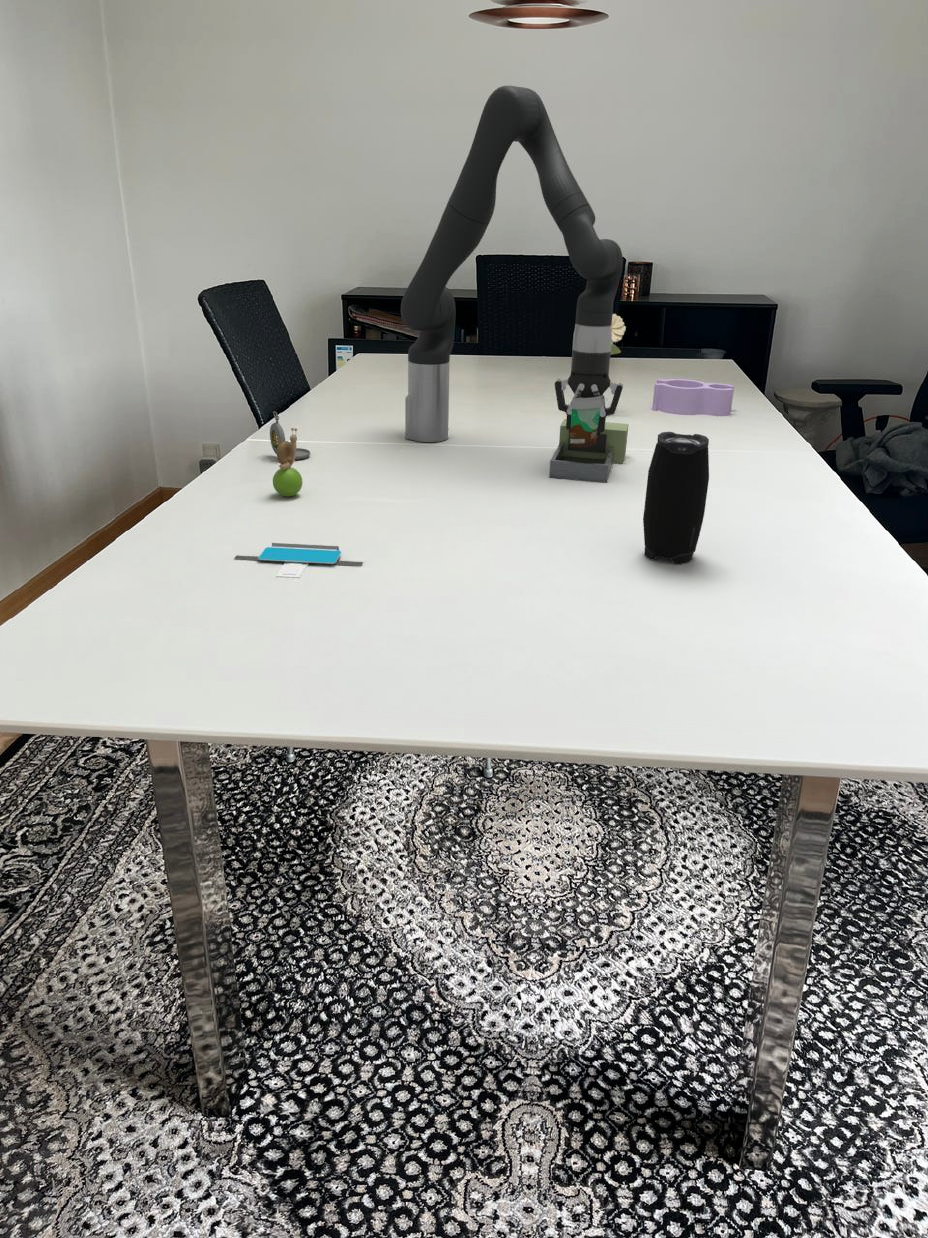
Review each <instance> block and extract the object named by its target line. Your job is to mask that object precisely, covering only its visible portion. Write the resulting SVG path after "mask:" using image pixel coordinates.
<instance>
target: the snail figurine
mask: <svg viewBox="0 0 928 1238" xmlns="http://www.w3.org/2000/svg"><path fill="white" fill-rule="evenodd" d="M290 430H291V431H292V434H291V435H290V436H289V440H290V441H288V440H285V441H283V442H281V443H280V445H279V447H278V450H277V454H276V458H277V461H278V463H279V466H278V467H279V469H277V470H276V471H275V473H274V475H273V477H272V486H273V488H274V490H275V491H276V493H277V494H279V495H280V496H283V497H287V498H288V497H293V496H295V495H297V494H298V493H299V492H300V491H301V489H302V488H303V478H302V475H301V473H300V472H299V471H298V470H297V469H295V468H294V467H292V465H293V463H295V460H296V459H295V456H296V448H297V440H298V438H297V434H295V433H294V431H295V432H297V431H298V428H297V427H295V428H294V427H291V428H290Z"/></svg>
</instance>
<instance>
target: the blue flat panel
mask: <svg viewBox="0 0 928 1238" xmlns="http://www.w3.org/2000/svg"><path fill="white" fill-rule="evenodd" d="M341 554H342V551H341V550H340V546H338V545H322V544H319V545H317V544H305V543H304V544H301V543H300V544H299V543H284V542H283V543H281V542H280V543H279V542H271V547H270V546H268V547H265V548H264V549H263V551H262V552H261V554H260V555H258V556H257V555H238V554H237V555H236V556H235V557H234V560H242V561H243V560H244V561H245V560H246V561H248V562H249V561H251V562H253V561H254V562H267V563H268V562H270V563H271V562H272V563H283V565H282V566H281V568H280V570H279V571H278V573H277V574H276V576H275V577H276V578H286V579H288V578H290V579H301V577H302V576H303V573H305V570H306V569H307V567H308V565H330V566H331V565H332V566H346V567H347V566H360V567H361V566H362V564H363V561H351V560H341V557H340V556H341Z"/></svg>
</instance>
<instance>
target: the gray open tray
mask: <svg viewBox="0 0 928 1238" xmlns="http://www.w3.org/2000/svg"><path fill="white" fill-rule="evenodd" d="M563 447H564V442H560V443H559V442H558V445H557V448H555V451H554V453H553V455H552V456H551V459H550V460H549V461H550V462H549V479H550V478H551V479H561V480H573V481H585V482H594V483H595V482H596V483H606V484H607V483H608V480H609V477H610V474H611V470H612V468H613V464H614V463H613V457H614V447H615V446H611V447H610V450H609V453H608V456H607V459H606V460H604V459H592V458H580V457H568V456H563Z"/></svg>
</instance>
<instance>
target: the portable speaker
mask: <svg viewBox="0 0 928 1238" xmlns="http://www.w3.org/2000/svg"><path fill="white" fill-rule="evenodd" d="M656 441H657V442H656V444H655V447H654V449H653V450H654V451H653V455H652V457H651V461H650V465H649V468H648V472H647V481H646V489H645V498H644V510H643V518H642V520H643V521H642V524H643V539H644V556H645V557H646V558H648V559H649V560H656V559H657V558H661V559H666V560H671V561H672V563H673V564H674V565H679V564H680V565H683V564H687V563H689V562H691V561H692V560H693V556H694V555H695V554H694V553H695V552H696V549H697V545H698V543H699V538H700V535H701V534H700V533H701V531H702V526H703V523H704V517H705V512H706V505H707V495H708V488H709V483H710V482H709V481H710V466H709V465H710V463H709V461H710V459H709V458H710V457H709V455H710V454H709V443H710V440H709V437H707V436H706V435H703V434H699V433H693V434H682V433H681V434H680V433H675V432H674V431H664V432H663V431H662V432H660V433H658V435H657V440H656Z"/></svg>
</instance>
